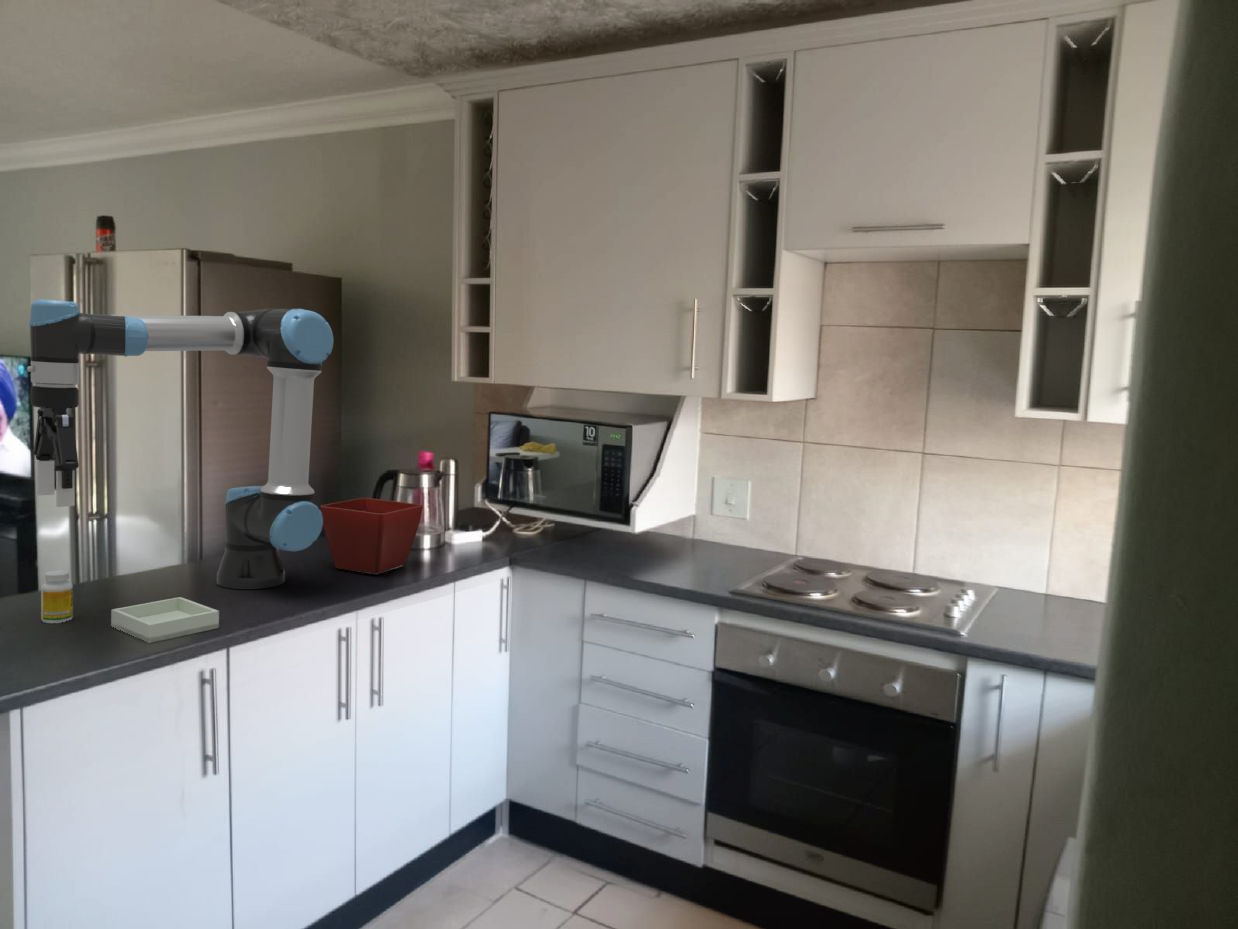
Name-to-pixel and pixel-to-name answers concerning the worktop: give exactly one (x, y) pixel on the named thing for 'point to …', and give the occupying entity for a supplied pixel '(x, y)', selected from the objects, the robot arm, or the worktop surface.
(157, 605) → the tray
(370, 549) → the plant pot
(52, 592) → the supplement bottle
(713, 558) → the worktop surface
